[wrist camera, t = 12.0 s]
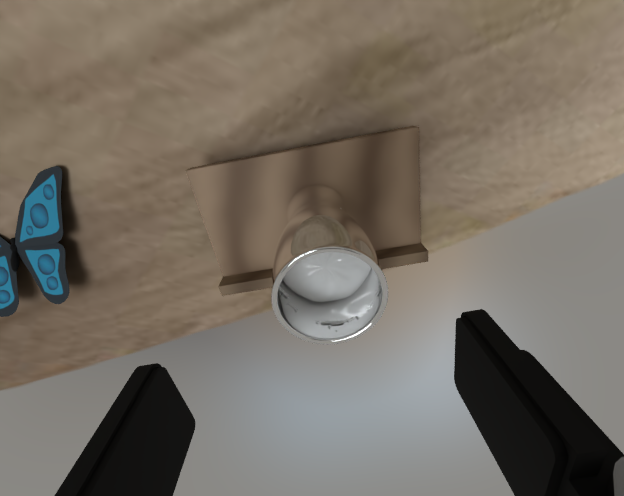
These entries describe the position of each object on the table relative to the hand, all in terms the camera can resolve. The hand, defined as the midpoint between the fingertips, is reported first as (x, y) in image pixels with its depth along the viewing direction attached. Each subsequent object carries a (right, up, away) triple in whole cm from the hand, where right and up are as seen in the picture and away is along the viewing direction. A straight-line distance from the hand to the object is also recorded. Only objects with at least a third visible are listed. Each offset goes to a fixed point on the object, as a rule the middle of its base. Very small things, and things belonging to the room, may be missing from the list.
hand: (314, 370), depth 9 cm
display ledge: (0, +9, +25) cm, 27 cm away
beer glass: (0, +7, +21) cm, 22 cm away
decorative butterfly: (-35, +5, +26) cm, 44 cm away
